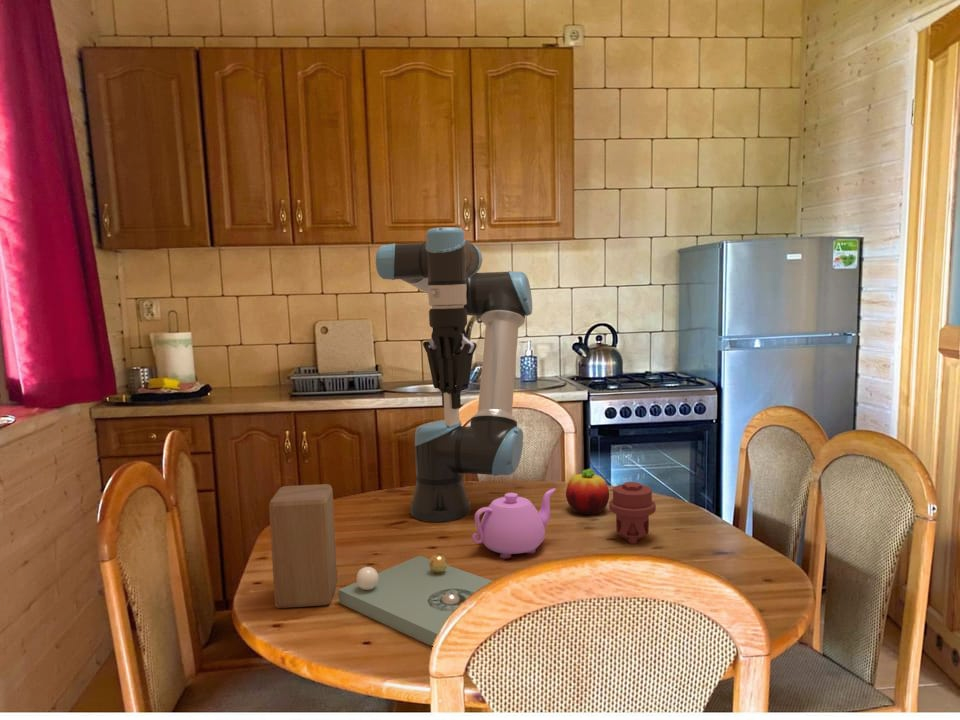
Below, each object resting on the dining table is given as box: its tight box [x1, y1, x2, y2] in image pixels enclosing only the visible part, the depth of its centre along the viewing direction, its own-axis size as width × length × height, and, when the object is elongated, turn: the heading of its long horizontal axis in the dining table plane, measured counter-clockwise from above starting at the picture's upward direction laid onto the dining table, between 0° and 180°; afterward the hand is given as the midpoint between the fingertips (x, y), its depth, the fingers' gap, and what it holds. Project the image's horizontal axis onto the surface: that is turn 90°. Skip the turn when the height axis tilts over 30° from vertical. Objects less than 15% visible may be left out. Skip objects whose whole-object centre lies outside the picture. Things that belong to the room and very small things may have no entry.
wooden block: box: [268, 483, 338, 609], centre depth 124 cm, size 10×10×20 cm
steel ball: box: [441, 592, 461, 606], centre depth 117 cm, size 4×4×4 cm
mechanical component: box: [608, 481, 657, 545], centre depth 148 cm, size 12×10×10 cm
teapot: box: [471, 487, 557, 559], centre depth 145 cm, size 20×14×12 cm
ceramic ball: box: [355, 566, 379, 590], centre depth 121 cm, size 4×4×4 cm
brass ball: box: [429, 553, 448, 573], centre depth 128 cm, size 4×4×4 cm
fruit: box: [565, 468, 610, 515], centre depth 168 cm, size 11×11×10 cm
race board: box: [338, 555, 493, 647], centre depth 120 cm, size 26×20×2 cm
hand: (452, 424), depth 136 cm, fingers closed
